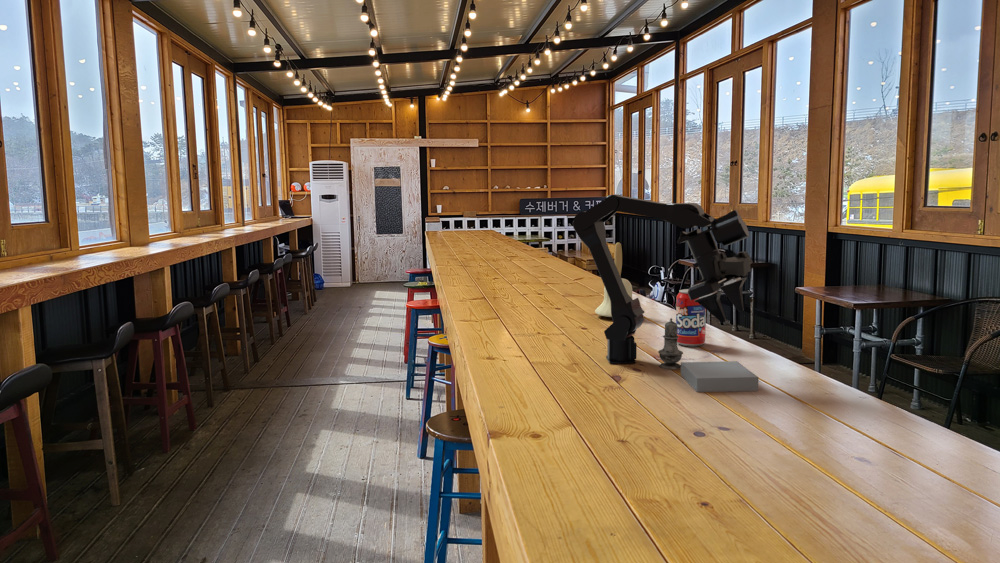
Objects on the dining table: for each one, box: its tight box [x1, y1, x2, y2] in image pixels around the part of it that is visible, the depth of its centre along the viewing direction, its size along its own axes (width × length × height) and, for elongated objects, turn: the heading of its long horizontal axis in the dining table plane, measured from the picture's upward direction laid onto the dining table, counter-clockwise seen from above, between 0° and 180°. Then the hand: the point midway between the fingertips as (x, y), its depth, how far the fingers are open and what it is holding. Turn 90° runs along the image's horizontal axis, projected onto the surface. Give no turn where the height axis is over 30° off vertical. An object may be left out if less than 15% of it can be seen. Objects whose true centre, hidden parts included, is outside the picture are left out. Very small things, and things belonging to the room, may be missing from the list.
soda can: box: [675, 288, 707, 348], centre depth 183 cm, size 8×8×15 cm
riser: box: [680, 360, 760, 393], centre depth 149 cm, size 13×13×3 cm
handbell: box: [594, 242, 633, 318], centre depth 222 cm, size 15×15×25 cm
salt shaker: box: [657, 317, 684, 370], centre depth 162 cm, size 6×6×12 cm
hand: (732, 316), depth 154 cm, fingers open, 9 cm apart
